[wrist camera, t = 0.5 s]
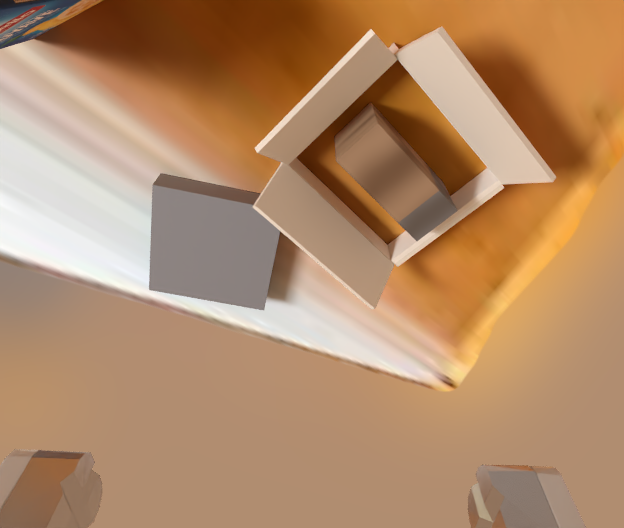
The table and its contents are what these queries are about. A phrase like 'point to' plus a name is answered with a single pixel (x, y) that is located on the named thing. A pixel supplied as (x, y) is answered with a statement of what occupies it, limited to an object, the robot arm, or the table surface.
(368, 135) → the walnut block
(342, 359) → the table surface
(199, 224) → the slate platform
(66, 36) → the table surface
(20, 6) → the blue cardboard box
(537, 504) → the robot arm
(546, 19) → the table surface
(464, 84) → the carton
